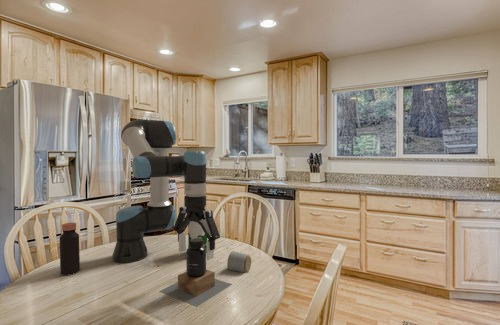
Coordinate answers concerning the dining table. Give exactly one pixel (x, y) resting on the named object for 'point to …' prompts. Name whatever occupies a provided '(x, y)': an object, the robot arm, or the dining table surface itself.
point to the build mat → (193, 299)
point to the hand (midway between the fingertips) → (195, 254)
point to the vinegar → (69, 249)
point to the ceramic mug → (239, 262)
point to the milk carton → (196, 233)
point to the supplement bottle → (196, 258)
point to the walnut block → (196, 283)
